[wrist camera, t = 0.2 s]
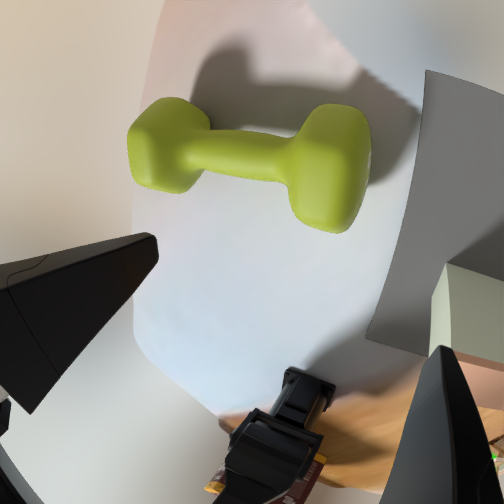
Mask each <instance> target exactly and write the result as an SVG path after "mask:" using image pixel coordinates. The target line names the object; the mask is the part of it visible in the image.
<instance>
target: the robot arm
mask: <svg viewBox="0 0 504 504" xmlns="http://www.w3.org/2000/svg"><path fill="white" fill-rule="evenodd" d="M158 260H159V252H158V245H157V239H156V237H155V236H154V235H152V234H150V233H147V232H143V233H138V234H134V235H129V236H125V237H120V238H115V239H110V240H106V241H101V242H98V243H93V244H88V245H84V246H80V247H75V248H71V249H67V250H63V251H59V252H54V253H51V254H46V255H43V256H38V257H34V258H30V259H25V260H20V261H15V262H10V263H6V264H1V265H0V437H1V436H2V435H3V434H4V433H5V432H6V431H7V430H8V426H9V418H10V410H11V401H10V400H9V398H8V396H9V395H10V396H11V397H12V398H13V399H14V400H15V401H16V402H17V403H18V404H19V405H20V406H21V407H22V408H23V409H24V410H25V411H26V412H28V413H29V414H32V413H33V412H34V410H35V409H36V408H37V406H38V405H39V404H40V403H41V401H42V400H43V399H44V397H45V396H46V395H47V393H48V392H49V391H50V390H51V389H52V387H53V386H54V384H55V383H56V382H57V381H58V380H59V379H60V377H61V376H62V375H63V373H64V372H65V371H66V370H67V369H68V367H69V366H70V365H71V364H72V363H73V361H74V360H75V359H76V358H77V357H78V356H79V354H80V353H81V352H82V351H83V350H84V349H85V347H86V346H87V345H88V344H89V343H90V341H91V340H92V339H93V338H94V337H95V336H96V335H97V334H98V332H99V331H100V330H101V329H102V328H103V327H104V326H105V324H106V323H107V322H108V321H109V320H110V319H111V318H112V317H113V315H114V314H115V313H116V312H117V311H118V310H119V309H120V308H121V307H122V305H124V303H125V302H126V301H127V300H128V299H129V298H130V297H131V296H132V295H133V293H134V292H135V291H136V289H137V288H138V287H139V286H140V284H141V283H142V282H143V280H144V279H145V278H146V277H147V275H148V274H149V273H150V271H151V270H152V269H153V268H154V266H155V265H156V264H157V262H158ZM335 390H336V387H335V386H334V385H331V384H328V383H326V382H323V381H320V380H317V379H314V378H312V377H309V376H306V375H303V374H301V373H298V372H295V371H293V370H290V369H286V371H285V373H284V379H283V385H282V391H281V393H280V395H279V397H278V398H277V400H276V402H275V403H274V405H273V407H272V409H271V410H270V412H269V413H268V414H267V413H265V412H263V411H260V409H258V408H255V409H254V410H253V412H250V413H249V414H248V416H247V417H246V419H245V420H244V421H243V422H242V423H241V424H240V425H239V426H238V427H237V428H236V429H235V430H234V431H233V432H232V433H231V434H230V436H229V437H230V443H229V446H228V451H230V452H229V453H228V455H227V456H226V458H225V487H224V489H223V490H222V491H221V493H220V494H219V496H218V497H217V498H216V500H215V501H214V502H213V504H269V503H270V502H272V501H274V500H276V499H278V498H280V497H282V496H283V495H285V494H286V492H287V491H288V490H289V489H290V488H291V487H292V485H293V483H294V482H295V480H296V481H298V482H301V481H302V480H303V478H304V477H305V475H306V473H307V471H308V470H309V468H310V466H311V464H312V462H313V460H314V458H315V455H316V453H317V451H318V449H319V446H320V444H321V442H322V439H323V437H324V435H321V434H320V435H319V434H316V433H314V432H313V430H314V428H315V426H316V424H317V422H318V420H319V417H320V415H321V413H322V412H325V411H326V409H327V407H328V405H329V403H330V401H331V399H332V396H333V394H334V392H335ZM0 504H44V503H43V502H42V501H41V499H40V498H39V497H38V496H37V494H36V493H35V492H34V491H33V489H32V488H31V487H30V486H29V484H28V483H27V482H26V480H25V479H24V478H23V476H22V475H21V474H20V472H19V471H18V469H17V468H16V467H15V465H14V464H13V462H12V461H11V459H10V458H9V456H8V455H7V453H6V452H5V450H4V448H3V447H2V445H1V444H0ZM379 504H504V498H503V495H502V491H501V487H500V483H499V479H498V475H497V471H496V467H495V463H494V460H493V459H492V452H491V449H490V445H489V442H488V439H487V435H486V432H485V429H484V426H483V423H482V420H481V417H480V414H479V412H478V409H477V406H476V403H475V401H474V398H473V395H472V393H471V390H470V388H469V385H468V383H467V380H466V378H465V376H464V373H463V371H462V369H461V366H460V364H459V362H458V360H457V357H456V355H455V353H454V351H453V349H452V348H450V347H447V346H444V345H438V346H437V347H436V349H435V350H434V351H433V353H432V354H431V355H430V357H429V358H428V359H427V361H426V362H425V364H424V365H423V367H422V370H421V374H420V377H419V381H418V384H417V387H416V391H415V394H414V397H413V400H412V403H411V406H410V409H409V412H408V415H407V418H406V422H405V425H404V429H403V433H402V437H401V441H400V444H399V448H398V451H397V454H396V458H395V461H394V464H393V467H392V470H391V473H390V476H389V479H388V482H387V484H386V487H385V490H384V493H383V495H382V498H381V500H380V503H379Z"/></svg>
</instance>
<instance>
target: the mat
mask: <svg viewBox="0 0 504 504" xmlns="http://www.w3.org/2000/svg"><path fill="white" fill-rule="evenodd" d="M446 263H449V264H452V265H455V266H458V267H461V268H464V269H468V270H471V271H474V272H477V273H480V274H483V275H486V276H489V277H492V278H495V279H498V280H500V281H503V282H504V95H502V94H500V93H498V92H495V91H493V90H490V89H487V88H485V87H482V86H479V85H476V84H474V83H471V82H468V81H465V80H462V79H458V78H455V77H452V76H448V75H445V74H441V73H438V72H433V71H430V70H426V71H425V87H424V99H423V109H422V118H421V127H420V134H419V141H418V148H417V154H416V160H415V166H414V171H413V177H412V182H411V187H410V192H409V196H408V201H407V205H406V210H405V214H404V218H403V222H402V226H401V230H400V234H399V237H398V241H397V245H396V248H395V252H394V255H393V259H392V262H391V265H390V269H389V272H388V275H387V278H386V281H385V284H384V287H383V290H382V293H381V296H380V299H379V302H378V305H377V307H376V310H375V313H374V316H373V318H372V321H371V324H370V326H369V329H368V331H367V334H366V339H369V340H372V341H375V342H378V343H382V344H385V345H388V346H392V347H395V348H398V349H402V350H405V351H409V352H412V353H416V354H419V355H423V356H426V357H429V346H430V331H431V303H432V295H433V293H434V290H435V288H436V286H437V283H438V281H439V279H440V276H441V274H442V271H443V269H444V266H445V264H446Z"/></svg>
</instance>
